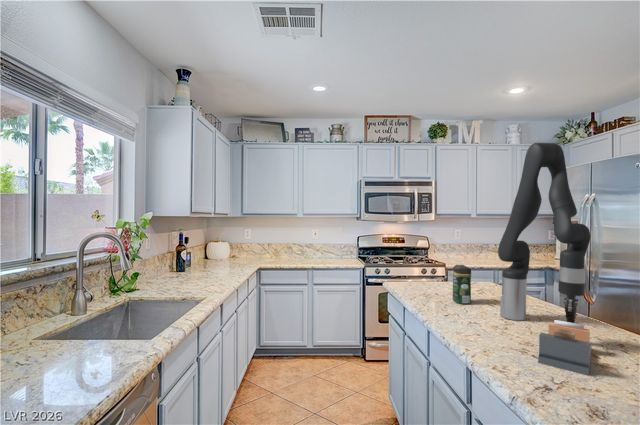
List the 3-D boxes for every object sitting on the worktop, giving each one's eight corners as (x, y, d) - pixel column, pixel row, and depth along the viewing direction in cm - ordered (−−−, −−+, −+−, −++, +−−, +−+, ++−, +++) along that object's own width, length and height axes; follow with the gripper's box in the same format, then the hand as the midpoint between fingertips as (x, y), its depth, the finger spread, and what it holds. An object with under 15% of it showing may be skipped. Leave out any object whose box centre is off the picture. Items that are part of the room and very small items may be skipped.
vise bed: (538, 362, 104) (538, 336, 104) (548, 340, 122) (548, 317, 122) (588, 375, 96) (588, 347, 96) (591, 349, 114) (591, 325, 114)
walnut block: (553, 354, 105) (554, 331, 105) (555, 350, 109) (555, 328, 108) (574, 358, 102) (574, 335, 102) (574, 354, 105) (575, 331, 105)
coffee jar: (450, 299, 177) (451, 263, 177) (466, 300, 176) (467, 263, 176) (455, 304, 167) (456, 266, 167) (472, 305, 166) (473, 267, 166)
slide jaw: (548, 338, 118) (548, 319, 118) (549, 336, 120) (549, 317, 120) (588, 347, 111) (589, 327, 111) (589, 344, 113) (589, 324, 113)
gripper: (584, 284, 113) (583, 337, 113) (585, 278, 123) (584, 327, 123) (556, 281, 118) (555, 331, 118) (560, 276, 128) (559, 322, 128)
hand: (570, 329), depth 121 cm, fingers closed
